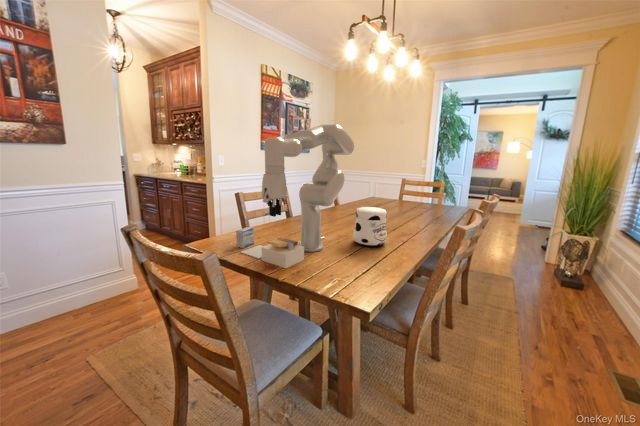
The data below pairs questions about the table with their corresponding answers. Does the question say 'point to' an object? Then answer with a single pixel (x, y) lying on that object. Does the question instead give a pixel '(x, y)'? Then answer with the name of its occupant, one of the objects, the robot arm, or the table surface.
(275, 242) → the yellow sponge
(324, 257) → the table surface
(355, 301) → the table surface
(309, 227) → the robot arm
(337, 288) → the table surface
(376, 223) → the milk container
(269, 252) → the switch box
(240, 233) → the medicine box
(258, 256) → the pad
